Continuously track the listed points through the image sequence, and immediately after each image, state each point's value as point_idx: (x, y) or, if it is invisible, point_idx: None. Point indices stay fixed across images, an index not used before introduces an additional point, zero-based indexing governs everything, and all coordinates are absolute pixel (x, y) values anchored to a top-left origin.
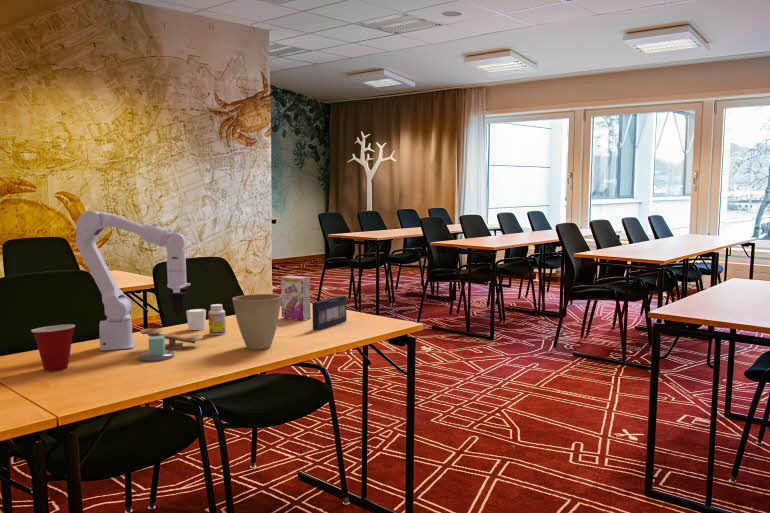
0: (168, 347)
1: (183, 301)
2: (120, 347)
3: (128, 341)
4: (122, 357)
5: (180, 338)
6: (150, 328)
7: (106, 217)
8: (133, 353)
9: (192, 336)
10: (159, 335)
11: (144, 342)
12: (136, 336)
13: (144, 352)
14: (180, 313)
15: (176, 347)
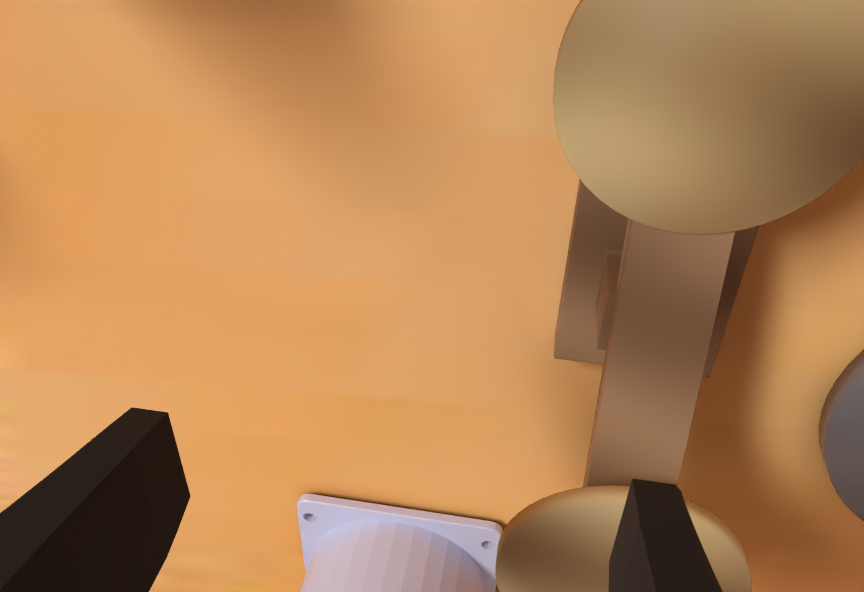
0: (724, 319)
1: (36, 550)
2: (484, 585)
3: (452, 581)
4: (780, 588)
5: (723, 248)
6: (509, 580)
7: None
8: None
9: (670, 84)
10: (677, 482)
11: (276, 436)
12: (33, 458)
13: (854, 507)
14: (677, 511)
15: (745, 242)
